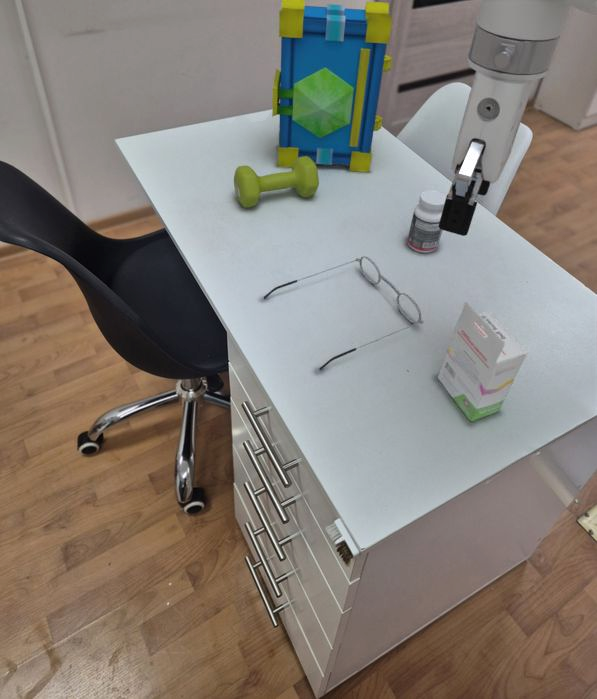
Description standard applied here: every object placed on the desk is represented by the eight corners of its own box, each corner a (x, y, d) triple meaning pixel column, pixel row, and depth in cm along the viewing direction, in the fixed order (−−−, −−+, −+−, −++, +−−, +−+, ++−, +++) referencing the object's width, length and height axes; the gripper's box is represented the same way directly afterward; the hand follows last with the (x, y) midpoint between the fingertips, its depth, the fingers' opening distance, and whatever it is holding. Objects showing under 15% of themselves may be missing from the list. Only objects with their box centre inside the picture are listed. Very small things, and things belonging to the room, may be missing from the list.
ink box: (500, 413, 74) (539, 336, 64) (469, 423, 73) (505, 346, 62) (464, 368, 80) (495, 290, 69) (435, 377, 78) (462, 299, 68)
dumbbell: (243, 215, 105) (242, 181, 100) (231, 194, 110) (229, 161, 105) (321, 201, 110) (324, 168, 105) (305, 182, 115) (308, 149, 110)
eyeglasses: (423, 330, 85) (428, 311, 82) (320, 374, 78) (321, 355, 75) (358, 266, 96) (361, 248, 93) (263, 300, 89) (262, 281, 86)
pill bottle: (413, 232, 104) (425, 185, 97) (442, 242, 102) (455, 194, 95) (402, 247, 100) (412, 199, 93) (430, 257, 99) (444, 209, 91)
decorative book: (275, 141, 127) (278, -8, 106) (373, 148, 127) (396, 0, 106) (271, 172, 117) (272, 13, 96) (377, 178, 118) (403, 22, 96)
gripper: (537, 88, 44) (478, 259, 57) (564, 33, 55) (509, 186, 68) (448, 70, 46) (409, 238, 59) (491, 20, 58) (451, 171, 70)
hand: (463, 210), depth 63 cm, fingers open, 9 cm apart
